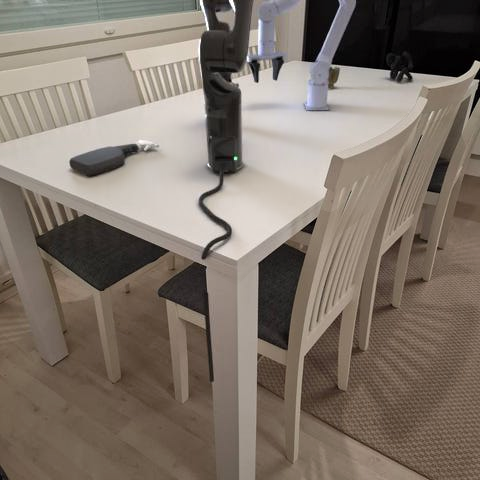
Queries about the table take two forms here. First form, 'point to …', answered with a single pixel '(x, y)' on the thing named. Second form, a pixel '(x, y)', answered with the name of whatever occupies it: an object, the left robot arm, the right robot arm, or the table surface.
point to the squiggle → (399, 66)
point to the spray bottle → (106, 157)
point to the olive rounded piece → (333, 76)
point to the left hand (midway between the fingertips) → (221, 112)
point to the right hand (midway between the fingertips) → (265, 81)
